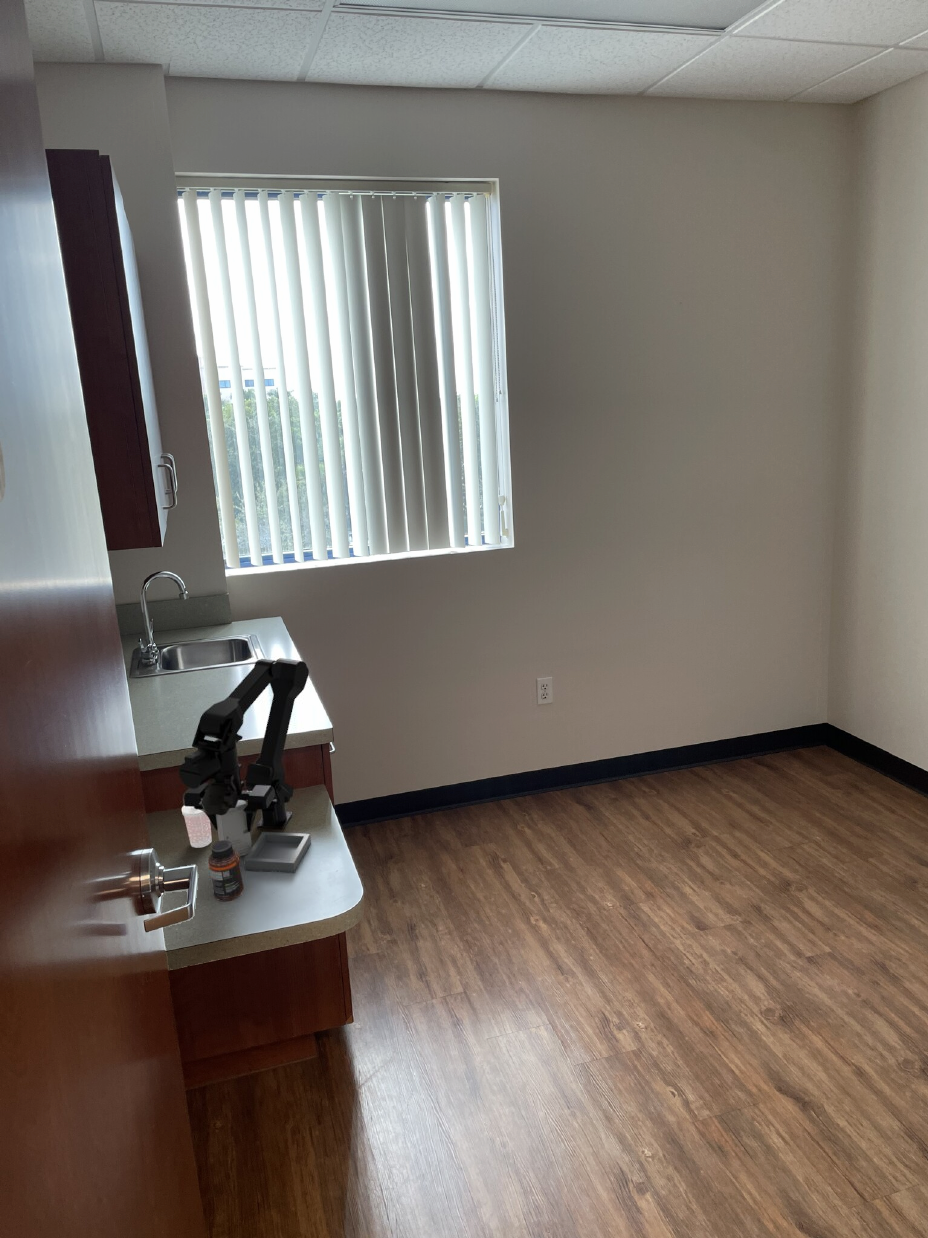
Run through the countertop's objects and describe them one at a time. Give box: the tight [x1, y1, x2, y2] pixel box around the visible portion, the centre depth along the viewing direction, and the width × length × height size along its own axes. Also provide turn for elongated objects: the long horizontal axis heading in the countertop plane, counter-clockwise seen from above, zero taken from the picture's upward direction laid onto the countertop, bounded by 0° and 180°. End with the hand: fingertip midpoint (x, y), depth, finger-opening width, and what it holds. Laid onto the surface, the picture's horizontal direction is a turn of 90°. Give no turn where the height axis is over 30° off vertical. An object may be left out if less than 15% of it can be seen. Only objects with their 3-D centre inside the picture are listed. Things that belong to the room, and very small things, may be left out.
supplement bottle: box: [207, 840, 244, 902], centre depth 171 cm, size 6×6×11 cm
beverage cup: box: [181, 805, 213, 849], centre depth 189 cm, size 6×6×14 cm
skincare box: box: [216, 800, 253, 858], centre depth 185 cm, size 6×4×12 cm
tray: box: [243, 831, 312, 874], centre depth 184 cm, size 11×11×2 cm
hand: (233, 830), depth 185 cm, fingers closed on skincare box, 7 cm apart
